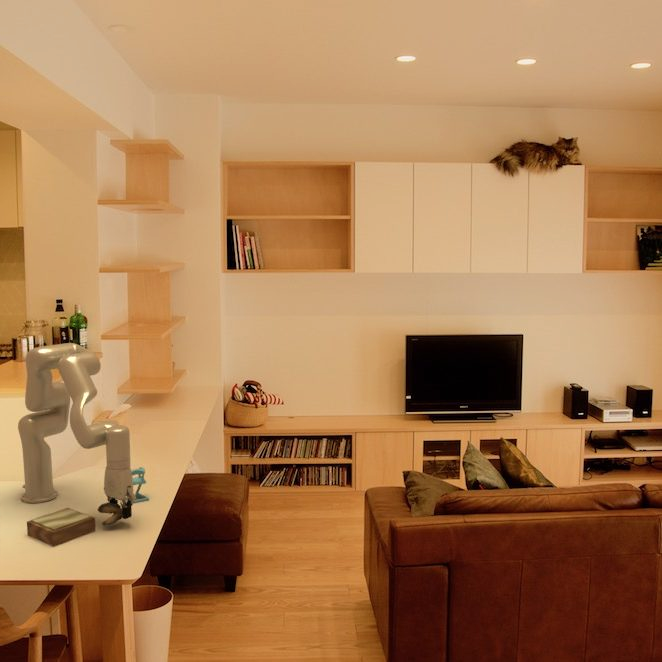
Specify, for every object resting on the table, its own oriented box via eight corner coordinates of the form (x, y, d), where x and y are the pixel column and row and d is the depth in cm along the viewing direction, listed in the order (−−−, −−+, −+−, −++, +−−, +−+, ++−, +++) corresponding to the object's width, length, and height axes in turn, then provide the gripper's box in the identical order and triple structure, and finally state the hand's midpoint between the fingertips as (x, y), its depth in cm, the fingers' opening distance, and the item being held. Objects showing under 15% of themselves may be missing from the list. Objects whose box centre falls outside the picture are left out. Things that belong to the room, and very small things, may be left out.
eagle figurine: (115, 510, 250) (93, 513, 243) (125, 495, 248) (103, 498, 241) (126, 527, 247) (103, 530, 239) (136, 512, 244) (113, 515, 237)
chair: (143, 493, 275) (142, 462, 273) (149, 500, 267) (147, 468, 266) (122, 497, 271) (120, 465, 270) (127, 504, 264) (126, 471, 262)
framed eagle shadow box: (27, 534, 238) (26, 520, 237) (68, 520, 249) (68, 506, 249) (53, 546, 228) (53, 531, 228) (95, 530, 240) (94, 516, 240)
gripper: (92, 460, 245) (94, 512, 248) (125, 471, 235) (127, 525, 237) (112, 455, 251) (113, 505, 254) (144, 465, 241) (146, 518, 243)
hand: (120, 514), depth 245 cm, fingers closed on eagle figurine, 6 cm apart
